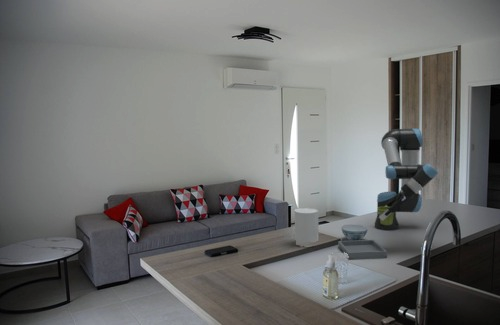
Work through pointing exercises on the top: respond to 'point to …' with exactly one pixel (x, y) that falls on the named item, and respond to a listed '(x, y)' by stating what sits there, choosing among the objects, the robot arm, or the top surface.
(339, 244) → the tray
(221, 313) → the top surface
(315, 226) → the canister
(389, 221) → the plant pot
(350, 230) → the chinaware
